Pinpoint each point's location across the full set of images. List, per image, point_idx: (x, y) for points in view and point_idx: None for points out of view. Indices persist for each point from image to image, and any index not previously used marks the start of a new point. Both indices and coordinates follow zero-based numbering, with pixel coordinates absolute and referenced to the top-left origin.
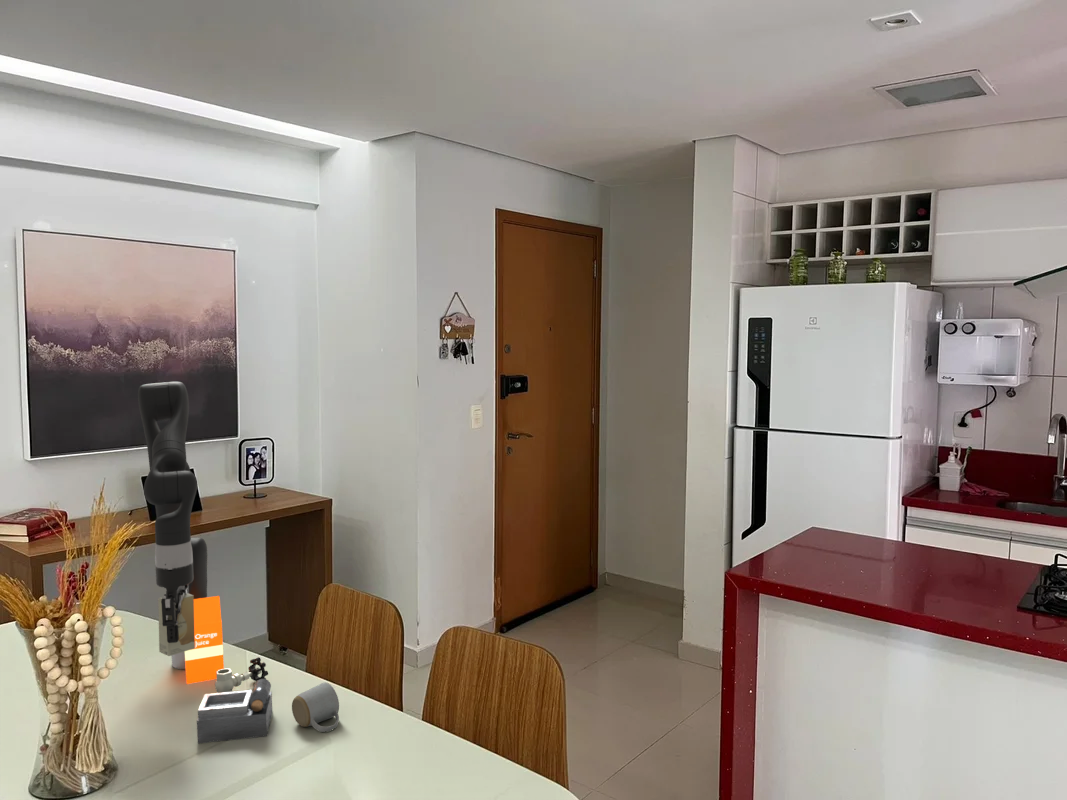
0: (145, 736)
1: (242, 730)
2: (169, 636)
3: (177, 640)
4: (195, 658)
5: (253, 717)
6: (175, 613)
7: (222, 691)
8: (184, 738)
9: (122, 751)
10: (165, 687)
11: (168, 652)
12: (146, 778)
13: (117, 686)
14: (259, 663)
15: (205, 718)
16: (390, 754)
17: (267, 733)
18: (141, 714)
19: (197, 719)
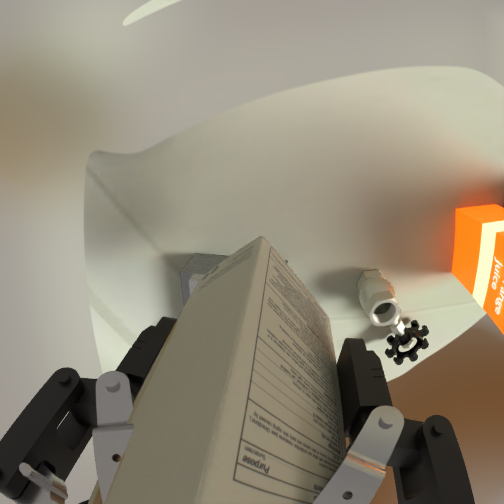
0: (242, 154)
1: None
2: (137, 344)
3: None
4: (481, 244)
5: None
6: (75, 454)
7: (360, 290)
8: (217, 229)
9: (191, 128)
10: (456, 169)
11: (195, 286)
12: (108, 195)
13: (477, 84)
14: (406, 355)
15: (186, 286)
16: None
17: None
18: (349, 129)
19: (184, 273)
